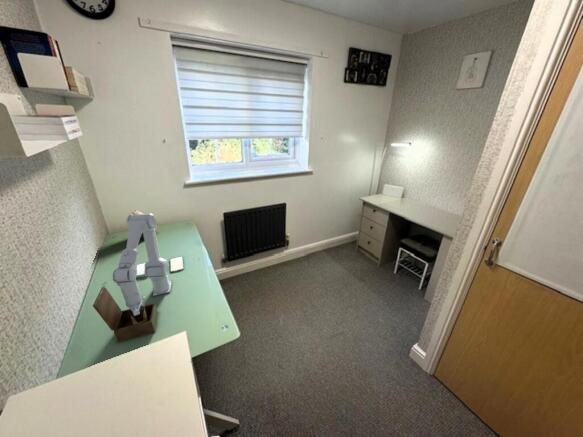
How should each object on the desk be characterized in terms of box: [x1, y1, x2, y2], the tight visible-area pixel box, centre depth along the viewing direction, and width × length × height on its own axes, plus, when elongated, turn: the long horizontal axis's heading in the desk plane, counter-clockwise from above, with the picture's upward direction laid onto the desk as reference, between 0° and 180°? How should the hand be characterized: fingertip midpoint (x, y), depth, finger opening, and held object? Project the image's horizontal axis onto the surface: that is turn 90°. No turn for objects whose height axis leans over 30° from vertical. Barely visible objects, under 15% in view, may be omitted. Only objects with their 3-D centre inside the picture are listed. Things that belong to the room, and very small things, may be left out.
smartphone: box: [169, 256, 184, 273], centre depth 146 cm, size 7×1×15 cm
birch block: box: [131, 304, 147, 325], centre depth 102 cm, size 5×5×5 cm
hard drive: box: [136, 262, 147, 279], centre depth 139 cm, size 2×8×12 cm
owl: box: [131, 209, 159, 240], centre depth 175 cm, size 13×13×20 cm
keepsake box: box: [113, 302, 159, 343], centre depth 102 cm, size 13×11×6 cm
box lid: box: [92, 285, 122, 332], centre depth 95 cm, size 14×11×1 cm
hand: (139, 316), depth 102 cm, fingers closed on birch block, 5 cm apart
